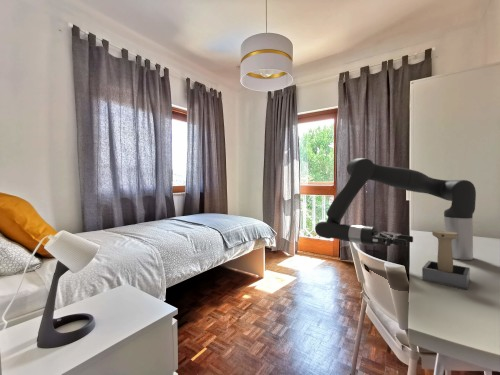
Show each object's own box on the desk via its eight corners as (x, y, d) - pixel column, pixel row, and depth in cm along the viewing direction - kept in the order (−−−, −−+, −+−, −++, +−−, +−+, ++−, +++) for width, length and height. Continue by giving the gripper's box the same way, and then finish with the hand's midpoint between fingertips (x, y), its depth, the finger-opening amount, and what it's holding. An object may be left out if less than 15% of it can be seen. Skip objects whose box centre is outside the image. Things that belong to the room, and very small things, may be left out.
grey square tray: (429, 271, 85) (428, 260, 85) (469, 279, 77) (469, 267, 77) (422, 280, 77) (422, 267, 77) (467, 290, 69) (466, 276, 69)
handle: (456, 282, 73) (455, 234, 73) (431, 276, 78) (430, 231, 78) (460, 278, 76) (459, 232, 76) (435, 273, 81) (434, 230, 81)
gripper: (355, 228, 91) (404, 233, 79) (369, 223, 101) (414, 228, 89) (355, 247, 91) (404, 255, 79) (369, 241, 101) (414, 248, 89)
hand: (409, 241), depth 84 cm, fingers open, 8 cm apart
